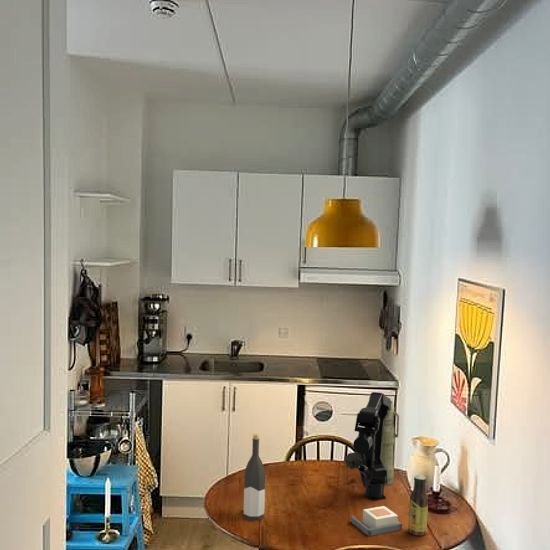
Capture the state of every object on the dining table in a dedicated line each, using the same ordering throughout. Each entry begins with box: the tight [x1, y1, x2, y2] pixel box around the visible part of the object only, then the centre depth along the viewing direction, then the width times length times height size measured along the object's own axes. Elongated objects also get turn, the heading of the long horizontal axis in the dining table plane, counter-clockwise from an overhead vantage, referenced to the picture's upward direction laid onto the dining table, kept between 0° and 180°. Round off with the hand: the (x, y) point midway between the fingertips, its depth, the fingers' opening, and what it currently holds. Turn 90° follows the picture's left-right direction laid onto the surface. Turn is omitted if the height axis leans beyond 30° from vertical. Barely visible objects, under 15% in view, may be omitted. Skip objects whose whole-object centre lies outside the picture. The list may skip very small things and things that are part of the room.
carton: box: [362, 505, 399, 529], centre depth 206 cm, size 9×8×5 cm
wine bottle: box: [243, 433, 266, 522], centre depth 211 cm, size 8×8×30 cm
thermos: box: [382, 400, 400, 487], centre depth 247 cm, size 9×12×35 cm
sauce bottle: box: [408, 474, 429, 536], centre depth 202 cm, size 7×6×20 cm
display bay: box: [350, 515, 403, 537], centre depth 206 cm, size 14×12×2 cm
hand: (365, 487), depth 213 cm, fingers closed
